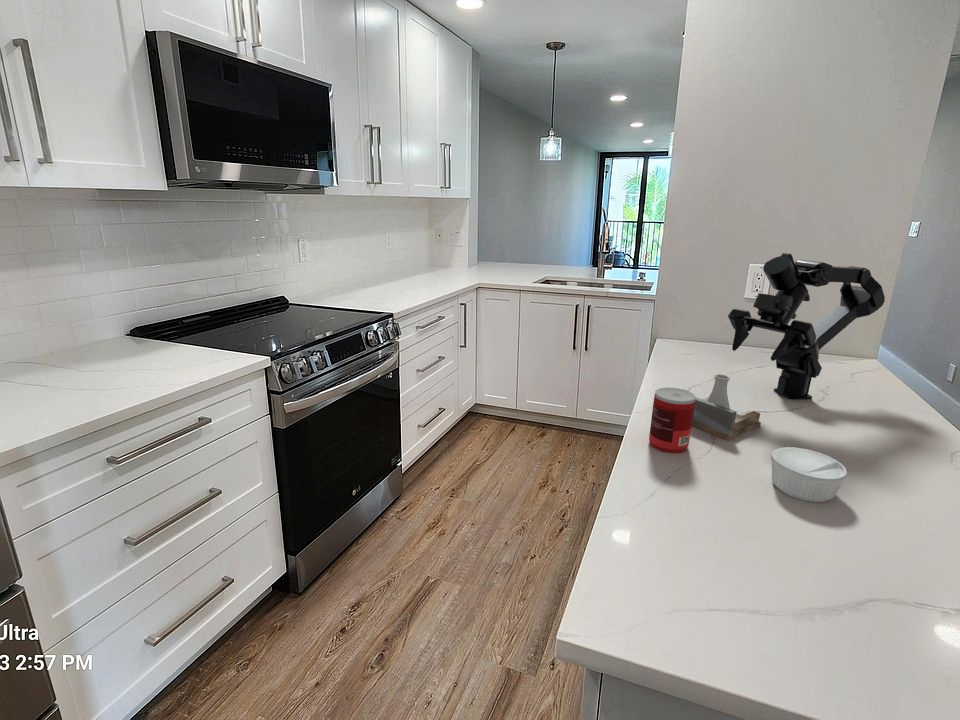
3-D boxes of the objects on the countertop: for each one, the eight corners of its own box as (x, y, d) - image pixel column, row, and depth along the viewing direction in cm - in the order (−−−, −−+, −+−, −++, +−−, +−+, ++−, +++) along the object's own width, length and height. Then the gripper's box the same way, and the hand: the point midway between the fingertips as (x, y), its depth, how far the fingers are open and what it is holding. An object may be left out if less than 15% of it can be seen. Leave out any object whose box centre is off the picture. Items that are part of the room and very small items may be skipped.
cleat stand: (707, 407, 128) (710, 383, 126) (760, 426, 118) (765, 401, 116) (673, 418, 121) (676, 394, 119) (726, 440, 110) (731, 413, 109)
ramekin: (841, 514, 85) (849, 485, 84) (763, 493, 91) (769, 465, 89) (839, 484, 94) (846, 457, 93) (768, 467, 100) (773, 441, 98)
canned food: (687, 439, 110) (695, 390, 107) (688, 456, 103) (697, 403, 100) (649, 433, 113) (655, 384, 109) (647, 449, 105) (654, 398, 102)
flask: (726, 428, 114) (734, 384, 111) (692, 418, 118) (699, 376, 115) (737, 418, 119) (745, 376, 116) (704, 409, 124) (711, 369, 121)
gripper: (738, 275, 129) (704, 325, 126) (821, 287, 114) (785, 343, 111) (750, 304, 135) (718, 352, 132) (830, 319, 121) (796, 373, 118)
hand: (751, 354), depth 123 cm, fingers open, 9 cm apart
